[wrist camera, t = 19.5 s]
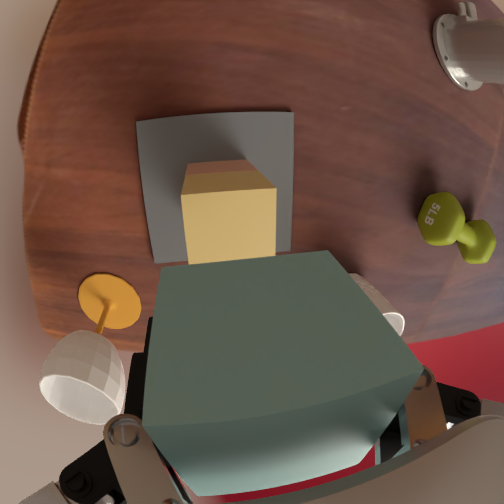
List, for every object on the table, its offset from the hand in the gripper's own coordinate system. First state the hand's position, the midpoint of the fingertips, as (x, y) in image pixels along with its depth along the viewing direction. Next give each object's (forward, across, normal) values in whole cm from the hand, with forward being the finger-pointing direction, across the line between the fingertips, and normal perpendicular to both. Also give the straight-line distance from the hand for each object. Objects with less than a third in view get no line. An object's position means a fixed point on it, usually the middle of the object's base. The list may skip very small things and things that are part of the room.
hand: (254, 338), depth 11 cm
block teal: (+1, 0, 0) cm, 1 cm away
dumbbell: (+22, -35, +6) cm, 42 cm away
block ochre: (+15, 0, 0) cm, 15 cm away
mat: (+22, 0, 0) cm, 22 cm away
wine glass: (+22, +15, +13) cm, 30 cm away
